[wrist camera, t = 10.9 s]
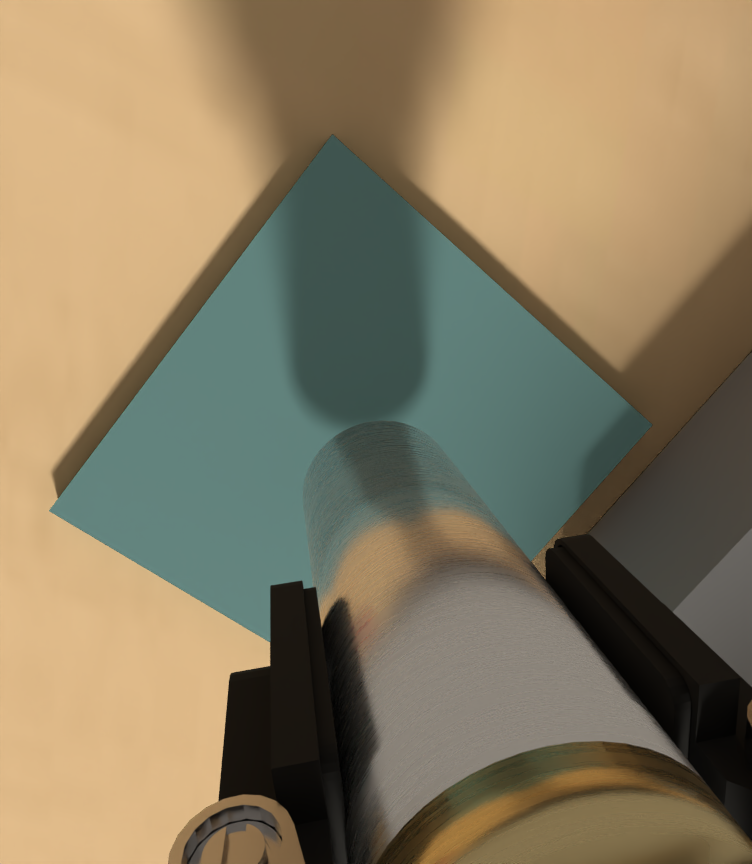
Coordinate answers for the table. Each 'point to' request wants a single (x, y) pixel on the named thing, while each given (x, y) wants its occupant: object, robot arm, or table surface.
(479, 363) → the mat
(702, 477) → the block
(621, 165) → the table surface
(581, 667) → the peg
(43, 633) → the table surface
